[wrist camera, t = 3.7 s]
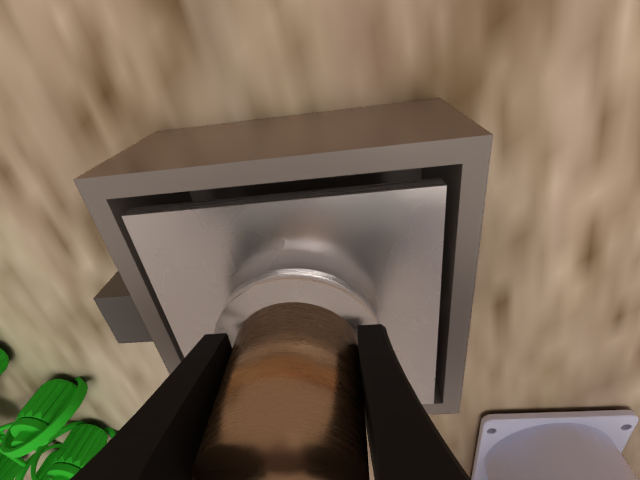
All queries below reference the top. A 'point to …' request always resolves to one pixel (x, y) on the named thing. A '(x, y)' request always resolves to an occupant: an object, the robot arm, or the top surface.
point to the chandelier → (49, 433)
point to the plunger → (298, 314)
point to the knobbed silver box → (293, 176)
